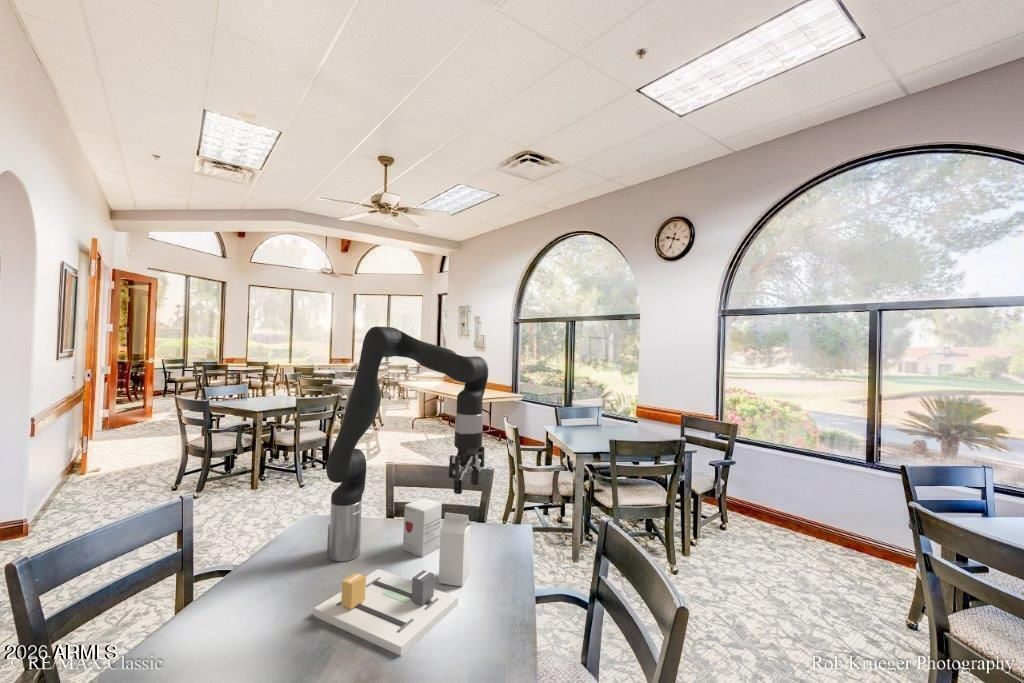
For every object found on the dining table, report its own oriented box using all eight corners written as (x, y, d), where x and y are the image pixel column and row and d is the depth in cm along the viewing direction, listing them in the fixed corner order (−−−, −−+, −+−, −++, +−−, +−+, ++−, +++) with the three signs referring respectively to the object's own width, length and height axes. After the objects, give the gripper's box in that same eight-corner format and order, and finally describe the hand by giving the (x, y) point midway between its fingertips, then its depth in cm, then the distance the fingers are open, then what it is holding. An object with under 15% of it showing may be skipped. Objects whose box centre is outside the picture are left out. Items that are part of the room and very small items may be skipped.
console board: (313, 616, 110) (314, 606, 110) (378, 575, 130) (378, 568, 130) (401, 656, 98) (401, 645, 98) (457, 604, 117) (458, 596, 117)
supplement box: (401, 550, 146) (403, 504, 146) (420, 540, 154) (422, 496, 154) (422, 557, 142) (424, 510, 142) (441, 547, 149) (442, 502, 149)
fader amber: (341, 604, 111) (342, 580, 111) (355, 595, 115) (355, 572, 115) (351, 608, 110) (352, 584, 110) (365, 599, 114) (365, 575, 114)
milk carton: (462, 587, 126) (464, 520, 126) (438, 583, 127) (440, 517, 127) (469, 574, 133) (471, 510, 133) (447, 571, 134) (449, 508, 134)
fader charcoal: (411, 601, 114) (412, 577, 114) (422, 592, 118) (423, 569, 118) (422, 605, 112) (423, 581, 112) (433, 596, 116) (434, 573, 116)
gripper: (471, 424, 129) (469, 479, 129) (441, 432, 117) (439, 494, 117) (493, 427, 126) (491, 484, 126) (466, 435, 113) (463, 499, 113)
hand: (466, 488), depth 121 cm, fingers open, 8 cm apart
